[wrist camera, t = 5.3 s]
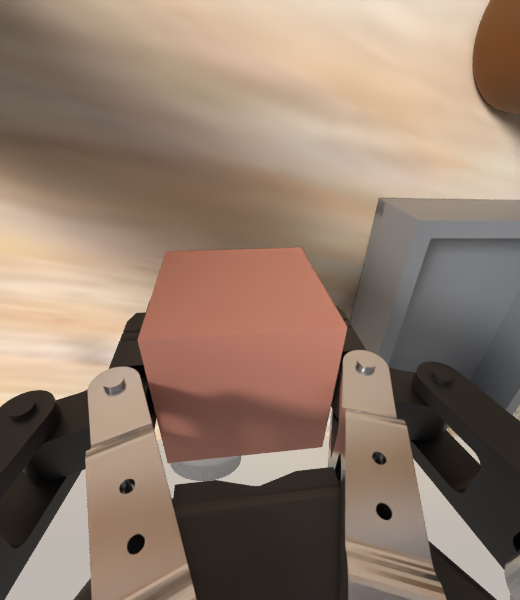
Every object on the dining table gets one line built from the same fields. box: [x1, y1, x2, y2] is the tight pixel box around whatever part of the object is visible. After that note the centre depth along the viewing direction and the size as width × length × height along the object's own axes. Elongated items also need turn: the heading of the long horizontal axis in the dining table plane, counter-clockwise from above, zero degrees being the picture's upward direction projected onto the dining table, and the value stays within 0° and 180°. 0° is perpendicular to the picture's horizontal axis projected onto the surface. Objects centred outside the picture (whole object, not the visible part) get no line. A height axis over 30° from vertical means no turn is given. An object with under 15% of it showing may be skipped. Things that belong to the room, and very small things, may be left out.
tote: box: [350, 198, 520, 428], centre depth 24 cm, size 18×14×5 cm
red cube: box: [138, 247, 347, 463], centre depth 11 cm, size 5×5×5 cm
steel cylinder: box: [170, 456, 241, 481], centre depth 25 cm, size 5×5×7 cm
